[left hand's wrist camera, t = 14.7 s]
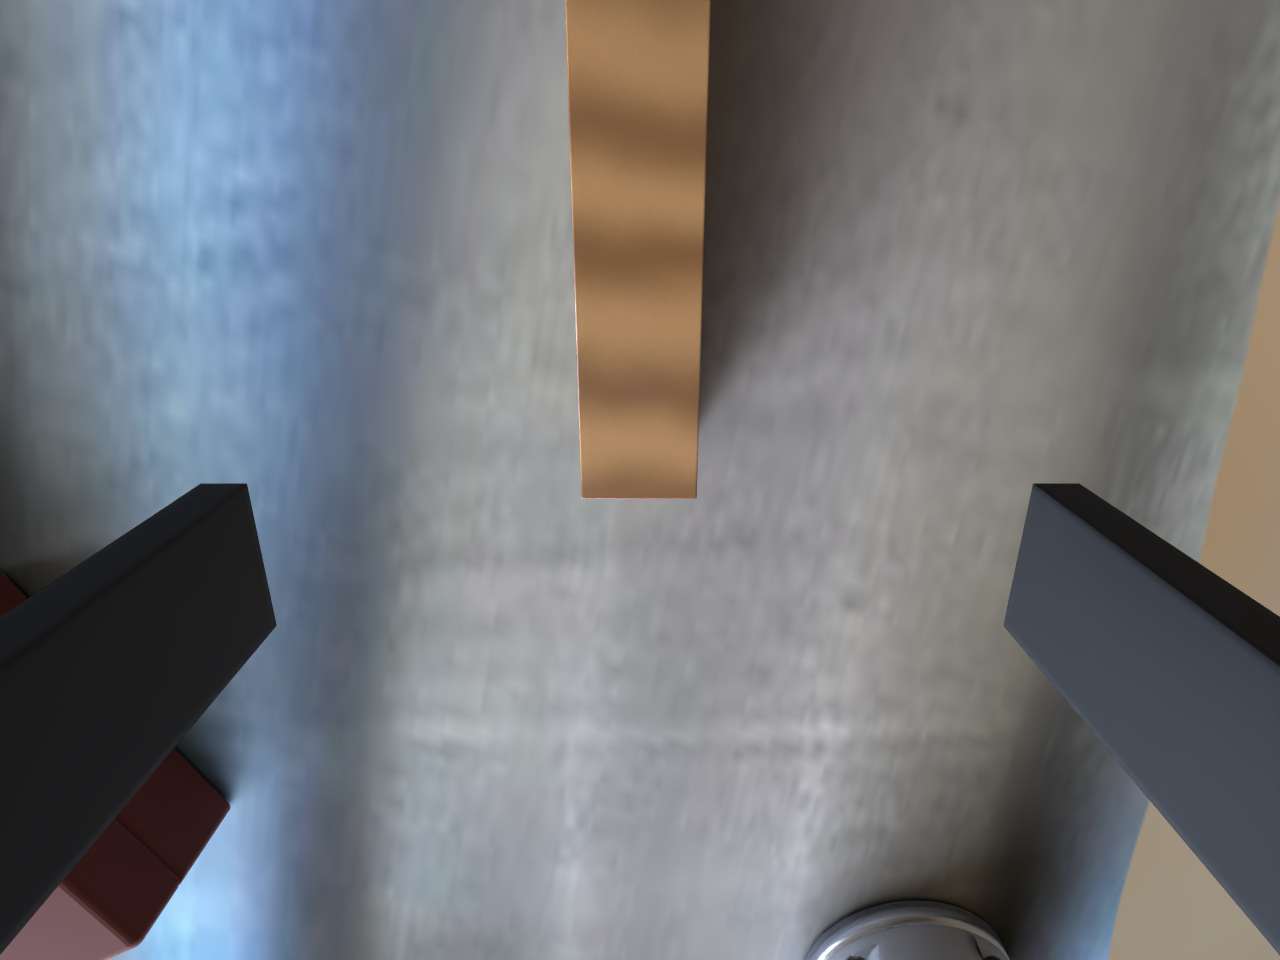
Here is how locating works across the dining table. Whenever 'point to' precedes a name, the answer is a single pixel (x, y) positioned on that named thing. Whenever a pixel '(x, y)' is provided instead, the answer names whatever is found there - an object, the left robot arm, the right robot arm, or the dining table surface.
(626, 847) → the dining table surface
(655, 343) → the beam
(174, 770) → the box
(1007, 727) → the dining table surface
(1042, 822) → the dining table surface
